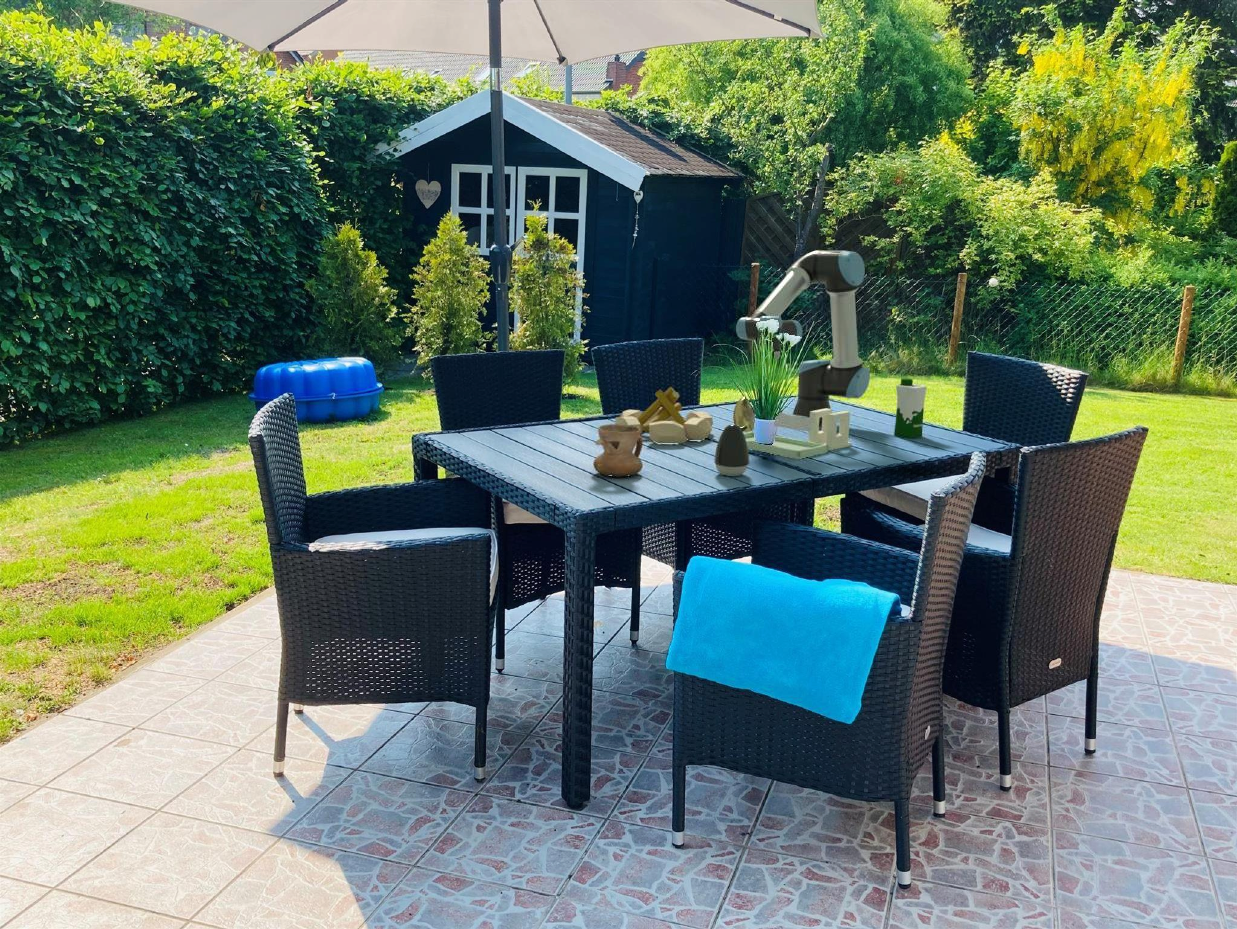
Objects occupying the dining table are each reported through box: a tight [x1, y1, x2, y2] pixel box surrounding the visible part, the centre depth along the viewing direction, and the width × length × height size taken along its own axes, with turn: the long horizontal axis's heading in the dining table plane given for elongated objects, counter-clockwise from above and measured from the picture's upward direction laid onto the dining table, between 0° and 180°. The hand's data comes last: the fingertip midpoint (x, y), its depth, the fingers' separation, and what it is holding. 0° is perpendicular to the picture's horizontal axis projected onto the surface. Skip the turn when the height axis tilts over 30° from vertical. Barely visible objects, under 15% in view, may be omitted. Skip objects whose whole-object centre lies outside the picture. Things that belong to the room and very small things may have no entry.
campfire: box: [614, 386, 714, 444], centre depth 375 cm, size 35×34×17 cm
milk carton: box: [893, 377, 928, 439], centre depth 379 cm, size 9×9×20 cm
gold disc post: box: [732, 395, 812, 433], centre depth 356 cm, size 28×12×12 cm, turn 45°
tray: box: [743, 430, 829, 460], centre depth 357 cm, size 16×31×2 cm, turn 45°
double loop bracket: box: [808, 408, 853, 451], centre depth 363 cm, size 11×12×12 cm
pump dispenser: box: [713, 423, 750, 477], centre depth 319 cm, size 10×10×15 cm
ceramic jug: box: [593, 423, 644, 477], centre depth 318 cm, size 18×14×14 cm
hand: (765, 433), depth 359 cm, fingers closed on gold disc post, 3 cm apart
